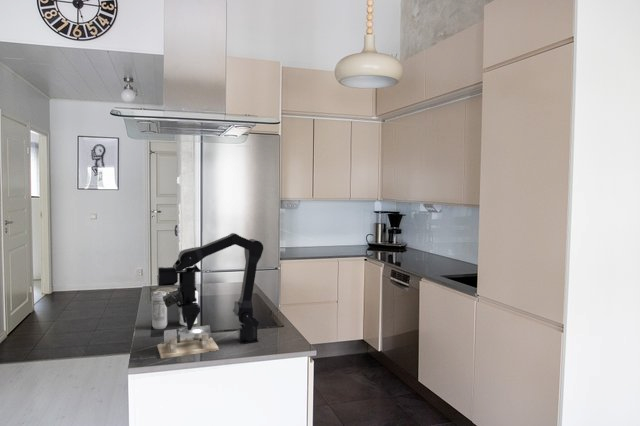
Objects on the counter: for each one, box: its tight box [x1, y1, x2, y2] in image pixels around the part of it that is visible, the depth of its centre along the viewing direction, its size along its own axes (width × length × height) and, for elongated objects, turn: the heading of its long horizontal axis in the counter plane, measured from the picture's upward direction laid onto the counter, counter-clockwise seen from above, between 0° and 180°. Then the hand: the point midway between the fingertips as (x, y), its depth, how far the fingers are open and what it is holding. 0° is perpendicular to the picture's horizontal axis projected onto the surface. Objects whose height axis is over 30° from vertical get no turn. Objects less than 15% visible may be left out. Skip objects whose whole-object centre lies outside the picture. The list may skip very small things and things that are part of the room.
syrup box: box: [178, 290, 199, 327], centre depth 196 cm, size 6×6×14 cm
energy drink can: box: [151, 290, 168, 330], centre depth 190 cm, size 6×6×15 cm
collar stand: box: [157, 333, 219, 359], centre depth 167 cm, size 20×12×6 cm, turn 115°
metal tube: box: [163, 324, 212, 345], centre depth 167 cm, size 16×5×5 cm, turn 115°
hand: (187, 326), depth 166 cm, fingers open, 9 cm apart
